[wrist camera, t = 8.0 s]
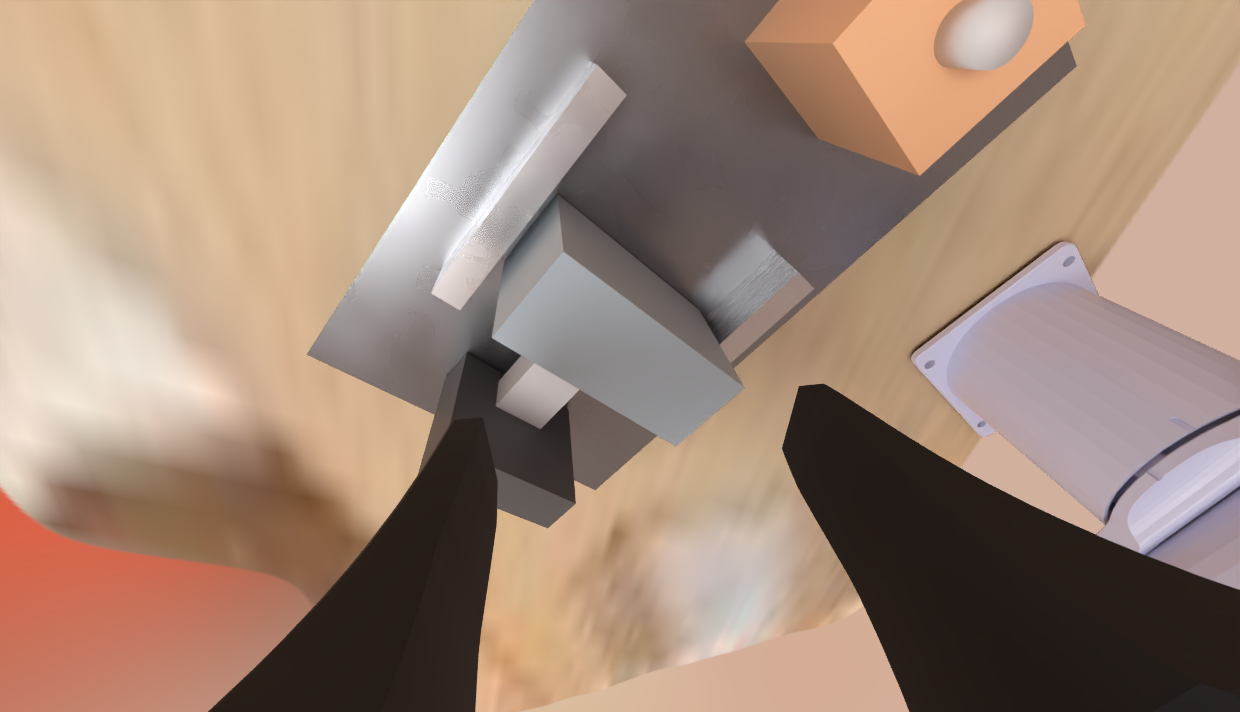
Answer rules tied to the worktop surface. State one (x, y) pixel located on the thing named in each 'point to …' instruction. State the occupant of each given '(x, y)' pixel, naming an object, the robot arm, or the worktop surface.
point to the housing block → (906, 66)
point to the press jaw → (581, 359)
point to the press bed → (629, 195)
